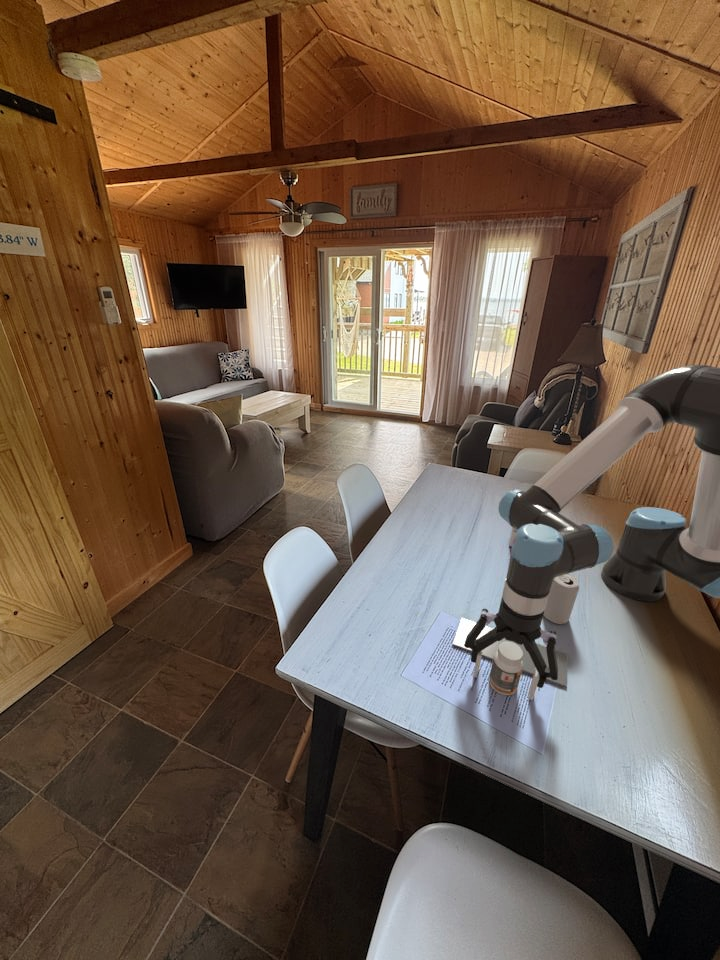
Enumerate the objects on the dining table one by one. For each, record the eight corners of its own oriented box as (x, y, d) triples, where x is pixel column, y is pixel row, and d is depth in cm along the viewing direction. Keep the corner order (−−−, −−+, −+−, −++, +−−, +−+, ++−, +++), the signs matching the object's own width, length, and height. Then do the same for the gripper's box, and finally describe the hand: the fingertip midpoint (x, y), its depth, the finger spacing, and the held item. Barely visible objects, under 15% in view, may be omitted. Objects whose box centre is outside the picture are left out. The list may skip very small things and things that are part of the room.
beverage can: (557, 629, 96) (568, 591, 91) (535, 612, 101) (545, 575, 96) (574, 620, 98) (586, 583, 93) (552, 604, 104) (563, 567, 98)
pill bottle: (519, 699, 79) (528, 665, 75) (489, 693, 80) (497, 659, 76) (514, 674, 84) (523, 641, 80) (487, 670, 85) (494, 637, 81)
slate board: (566, 655, 89) (567, 653, 88) (566, 688, 81) (566, 685, 81) (461, 619, 98) (461, 617, 98) (452, 645, 91) (452, 643, 91)
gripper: (592, 609, 71) (563, 690, 81) (465, 572, 80) (453, 649, 90) (593, 639, 65) (562, 723, 74) (456, 595, 74) (444, 674, 84)
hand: (502, 682), depth 82 cm, fingers open, 10 cm apart
